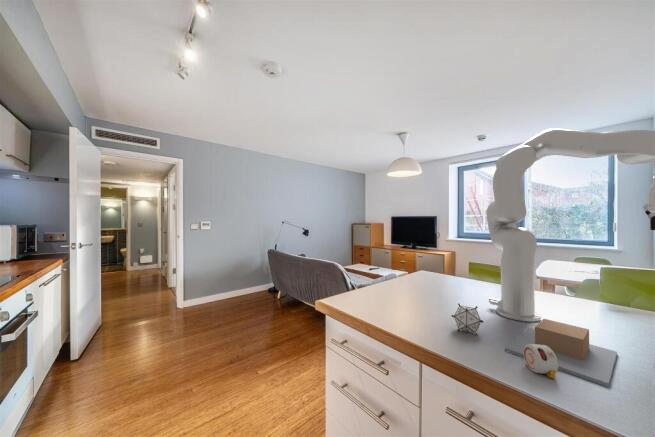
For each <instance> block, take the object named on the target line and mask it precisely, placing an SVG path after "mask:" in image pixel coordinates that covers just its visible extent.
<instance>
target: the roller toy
mask: <svg viewBox="0 0 655 437" xmlns="http://www.w3.org/2000/svg"><path fill="white" fill-rule="evenodd" d="M523 352H524V357H523V358H524V361H525V363H526V365H527V367H528V368H529V370H531V372H533V373H535V374H543V375H544V374H545V375H546V376H547V377H548V378H550V379H555V378H556V373H558V371H559V370H558V361H557V358H556V355H555V354H554V352H553V351H552V350H551V349H550V348H549V347H548V346H546V345H538V344H527V345H526V346H525V347H524V351H523Z"/></svg>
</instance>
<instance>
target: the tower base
mask: <svg viewBox="0 0 655 437" xmlns="http://www.w3.org/2000/svg"><path fill="white" fill-rule="evenodd" d="M527 344H538V345H546V346H548V347H549V348H550V349H551V350H552V351H553V352H554V354H555V355H556V358H557V361H558V371H561V372H565V373H567V374H570V375H573V376H575V377H579V378H581V379H584V380H586V379H587V381H589V380H590V382H592V381H593V383H595V382H596V383H595V384H599V385H601V384H602V385H601V386H604V387H606V386H607V388H609V387H610V384H611V381H612V376H613V373H614V368H615V365H616V361H617V356H618V351H617V350H613V349H608V348H604V347H601V346H597V345H593V344H590V329H588V328H585V327H581V326H576V325H572V324H568V323H564V322H563V323H562V322H560V321H557V320H556V321H554V320H550V319H547V318H542V320H540V321H539V322H538V323H537V324H536V325H535V326H534V328H531V327H527V328H526V329H525V330H523V331H522V332H521V333H520V334H519V335H518V336H516V338H514V339H513V340H512V341H511V342H510V343H508V344H507V345H506V346H505V347H504V351H505V352H507V353H509V354H513V355H516V356H518V357H521V358H524V352H523V351H524V347H525V346H526V345H527Z"/></svg>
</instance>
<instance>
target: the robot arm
mask: <svg viewBox="0 0 655 437" xmlns="http://www.w3.org/2000/svg"><path fill="white" fill-rule="evenodd" d="M549 155H550V156H551V155H555V156H564V157H570V158H571V157H572V158H578V159H580V158H581V159H593V158H595V159H596V158H601V157H602V158H603V157H608V156H615V155H616V159H617V160H618V161H619V162H620V163H622V164H625V165H640V164H647V163H653V176H652V179H653V182H652V183H651V184H650V188H649V191H648V192H649V193H648V200H647V203H646V204H644V205H643V206H642V208H643V210H644V212H645V215H647V218H648V219H649V220H650V221H649V222H650V223H649V224H650V225H649V226H650V227H649V229H650V230H651V231H655V130H648V129H629V130H628V129H627V130H613V131H611V130H610V131H598V132H597V131H596V132H595V131H582V130H574V129H563V128H548V129H546V130H543V131H541V132H540V133H537V134H536V135H535V136H533V137H531V138H530V139H528V140H526V141H525V142H523V143H521V144H520V145H519V146H517V147H515V148H513V149H511V150H509V151H508V152H507V153H504V154H503V155H501V156H499V158H498V159H497V161H496V164H495V171H494V174H493V175H492V176H493V177H492V190H493V198H494V200H493V201H492V202H490V204H488V207H487V209H486V214H485V215H486V221H487V226H488V231H489V235H490V236H489V237H490V240H491V243H492V244H493V246H494V247H495V248H497V249H498V250H501V251H502V255H501V259H500V294H501V296H500V298H498V299H497V298H494V297H489V298H488V303H490V305H493V306H494V305H495V306H496V308H495V310H496V313H497V314H498V315H500V316H502V317H504V318H506V319H511V320H515V321H519V322H520V321H521V322H527V323H529V322H530V323H534V322H540V321H541V315H540V314H539V313H538V312H536V311H535V307H536V306H535V304H536V303H535V299H536V298H535V256H536V253H537V252H536V251H537V246H538V241H537V238H536V235H535V234H534V233H533V232H532V231H531V230H529V229H528V228H525V227H523V226H522V227H521V226H520V227H519V226H517V223H520V222H522V221H523V220H524V219H525V218H526V216H527V206H526V202H525V197H524V191H523V184H522V182H523V176H524V175H525V173H526V172H527V171H528V169H529V168H531V167H532V166H533V165H534V164H535V162H537V161H539V160H541V159H542V158H544V157H547V156H549Z"/></svg>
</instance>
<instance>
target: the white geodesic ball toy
mask: <svg viewBox="0 0 655 437" xmlns="http://www.w3.org/2000/svg"><path fill="white" fill-rule="evenodd" d="M457 305H458V307H457V310H456V311H455V313H454V315H453V314H451V316H450V317H452V318H453V319H454V320H455V322H456V326H457V330H456V332H460V331H464V332H468V333H472V334H473V333H474V334H475V336H478V333H477V332H478V329H479V328H480V325H481V323H482V324H484V321H483V320H482V319H481V317H480V315H479V312H478V310H477V309H478V305H476V306H475V307H471V306H464V305H461V304H460V303H459V302H458V303H457Z"/></svg>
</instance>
